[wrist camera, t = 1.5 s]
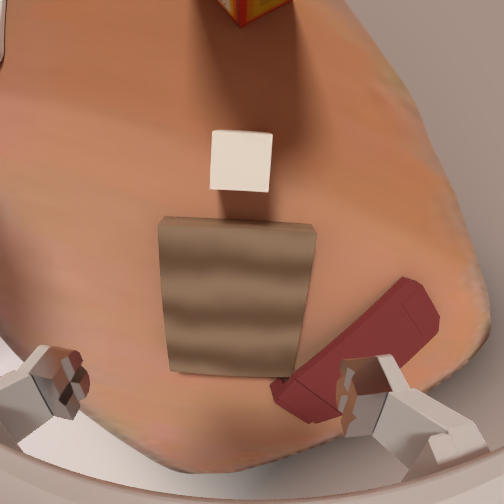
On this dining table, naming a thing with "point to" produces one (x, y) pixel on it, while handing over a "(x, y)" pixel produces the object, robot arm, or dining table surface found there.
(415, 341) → the carton
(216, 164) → the cream block
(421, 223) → the dining table surface
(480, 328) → the dining table surface
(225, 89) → the dining table surface
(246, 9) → the baking soda box
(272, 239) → the plinth
